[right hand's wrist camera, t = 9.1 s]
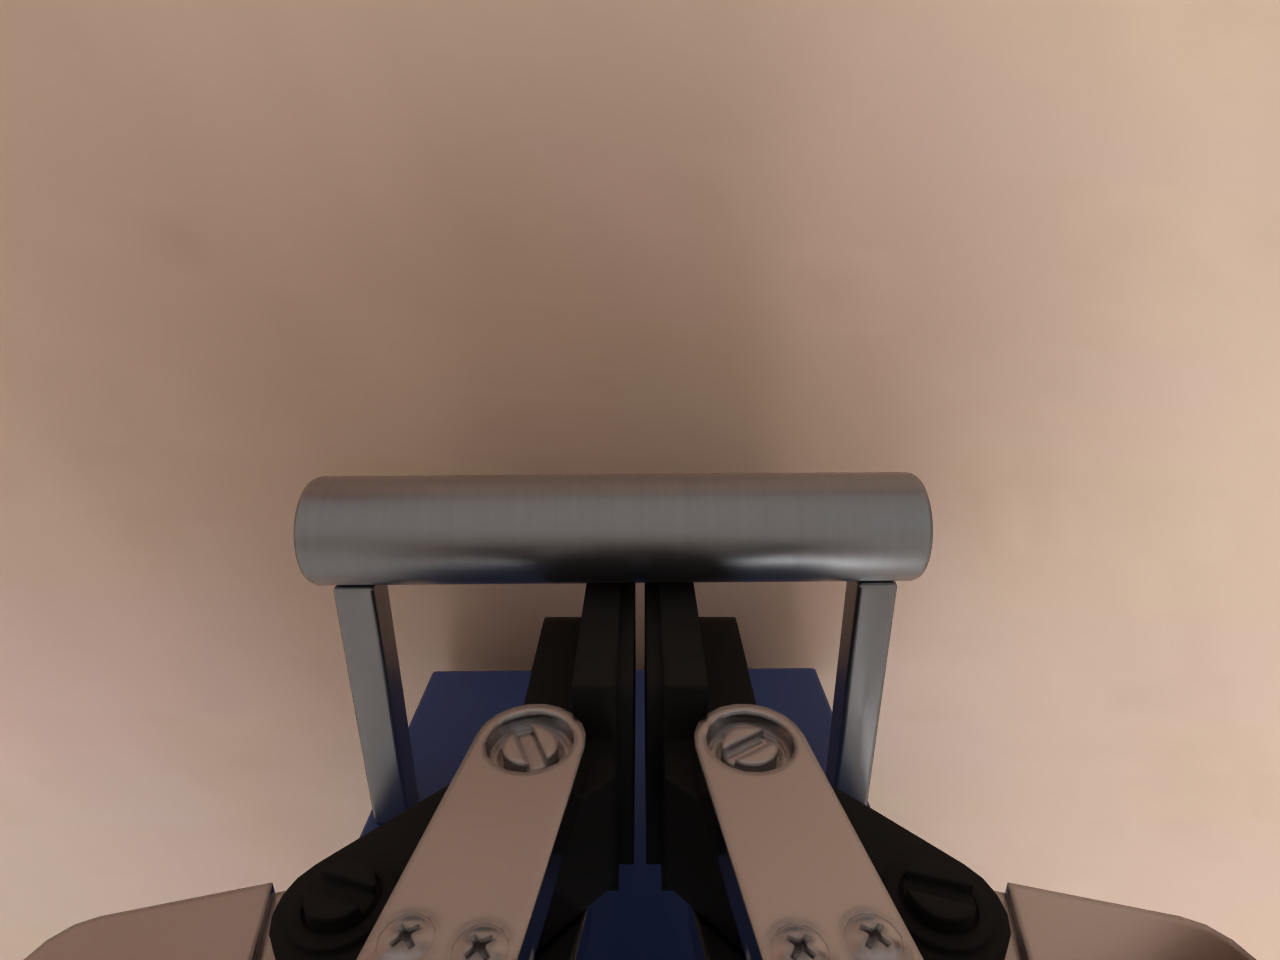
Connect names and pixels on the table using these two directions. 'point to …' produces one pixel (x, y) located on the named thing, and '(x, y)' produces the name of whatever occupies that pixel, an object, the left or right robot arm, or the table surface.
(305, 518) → the drawer
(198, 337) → the table surface
